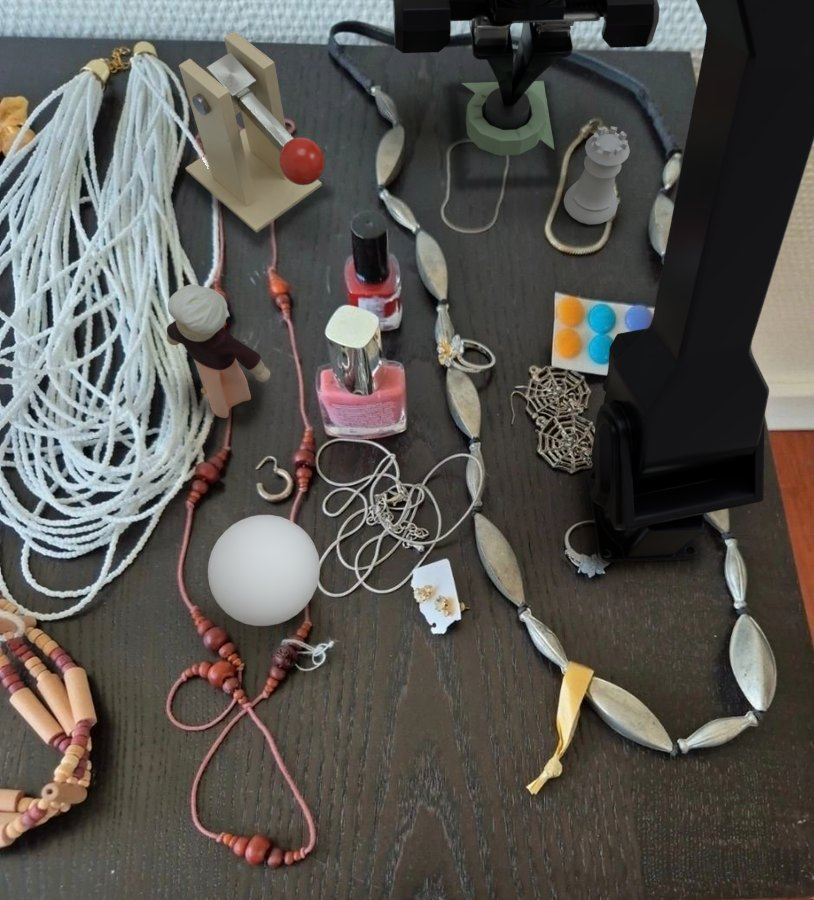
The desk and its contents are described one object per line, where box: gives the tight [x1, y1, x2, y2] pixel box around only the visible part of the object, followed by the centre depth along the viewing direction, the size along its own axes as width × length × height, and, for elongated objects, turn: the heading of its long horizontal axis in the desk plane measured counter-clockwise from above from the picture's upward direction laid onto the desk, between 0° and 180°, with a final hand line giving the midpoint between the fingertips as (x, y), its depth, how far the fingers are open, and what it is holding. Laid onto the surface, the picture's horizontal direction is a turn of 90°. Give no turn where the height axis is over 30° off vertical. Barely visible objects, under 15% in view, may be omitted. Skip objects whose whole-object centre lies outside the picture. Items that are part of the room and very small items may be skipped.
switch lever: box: [205, 52, 326, 185], centre depth 56 cm, size 10×3×3 cm, turn 45°
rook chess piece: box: [563, 125, 631, 226], centre depth 60 cm, size 4×4×8 cm
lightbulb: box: [207, 514, 321, 627], centre depth 46 cm, size 6×6×11 cm
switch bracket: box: [178, 30, 323, 233], centre depth 60 cm, size 9×7×12 cm
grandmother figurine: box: [166, 283, 271, 419], centre depth 51 cm, size 8×4×13 cm, turn 76°
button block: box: [461, 80, 555, 157], centre depth 67 cm, size 11×8×2 cm
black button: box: [483, 88, 530, 130], centre depth 65 cm, size 4×4×2 cm
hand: (508, 102), depth 65 cm, fingers closed, pressing on black button
